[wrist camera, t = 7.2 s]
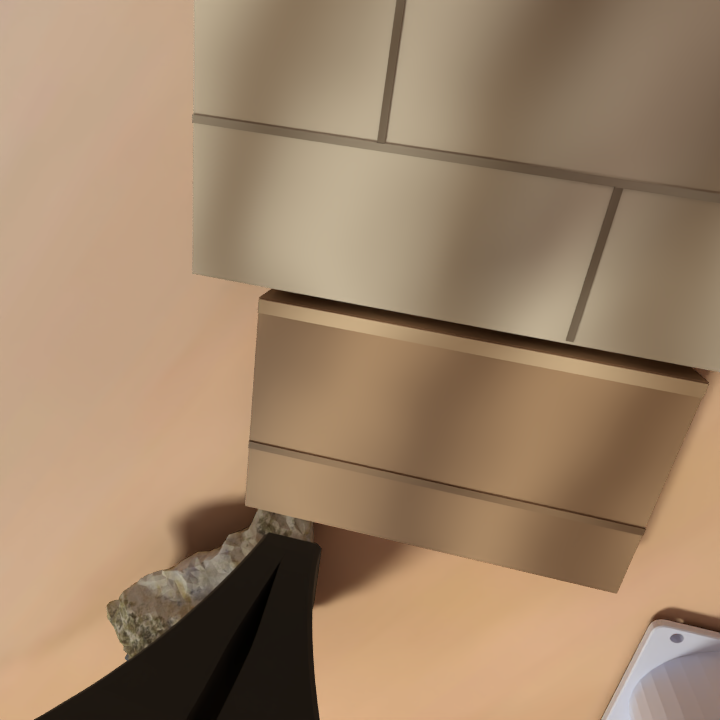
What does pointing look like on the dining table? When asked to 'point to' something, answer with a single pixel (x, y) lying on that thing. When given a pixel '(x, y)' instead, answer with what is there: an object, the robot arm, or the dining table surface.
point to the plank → (462, 436)
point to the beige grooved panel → (469, 162)
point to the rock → (190, 582)
